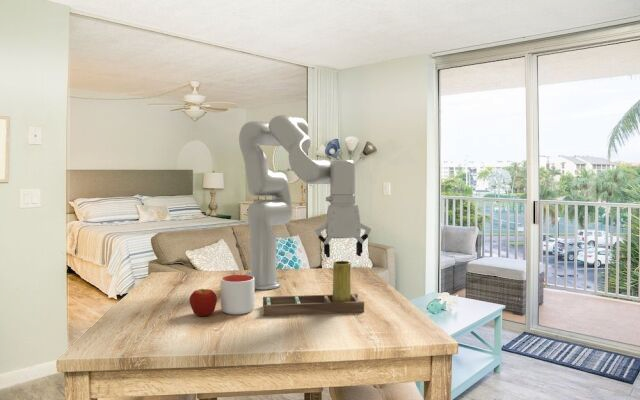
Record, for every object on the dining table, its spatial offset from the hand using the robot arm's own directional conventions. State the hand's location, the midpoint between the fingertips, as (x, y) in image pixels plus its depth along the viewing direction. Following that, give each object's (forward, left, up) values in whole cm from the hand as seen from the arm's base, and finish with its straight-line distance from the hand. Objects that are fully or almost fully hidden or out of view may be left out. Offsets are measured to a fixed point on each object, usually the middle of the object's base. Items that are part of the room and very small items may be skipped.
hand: (343, 256), depth 143 cm
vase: (-1, 0, -17) cm, 16 cm away
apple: (-29, -30, -17) cm, 45 cm away
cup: (-24, -21, -17) cm, 36 cm away
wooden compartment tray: (-7, -6, -16) cm, 19 cm away
